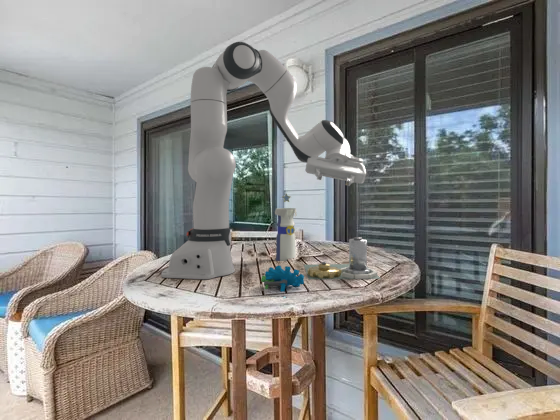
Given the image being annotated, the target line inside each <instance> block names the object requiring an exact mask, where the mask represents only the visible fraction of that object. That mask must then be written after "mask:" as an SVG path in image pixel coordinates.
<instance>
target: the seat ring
mask: <svg viewBox="0 0 560 420" xmlns="http://www.w3.org/2000/svg"><path fill="white" fill-rule="evenodd" d="M346 268H347V267H345V268H341V273H342V276H343V277H347V278H352V279H351V280H370V279H369V278H373V277H376V276H377V275H378V271H377V270H375V269H374V268H370V267H368V269H371V273H369V274H350V273H345V269H346ZM353 278H355V279H353Z"/></svg>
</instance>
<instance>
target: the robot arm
mask: <svg viewBox="0 0 560 420" xmlns="http://www.w3.org/2000/svg"><path fill="white" fill-rule="evenodd" d="M246 82H250V83H252V84H254V85H256V86H257V87H258V88H259V90H260V91H261V92H262V93H263V94H264V95H265V97H266V98H267V100H268V103H269V109H268V112H269V114H270V116H271V118H272V120H273V121H274V123H275V125H276V126H277V128H278V129H279V131H280V132H281V135H283V137H284V139H285V140H286V142H287V143H288V144H289V146H290V147H291V150H292V152H293V153H294V155H295V157H296V158H297V159H298V160H299V162H302V163H306V165H305V171H304V172H306V173H307V174H311V175H314V176H315V177H316V180H319V181H322V178H323V177H325V178H329V179H336V180H341V181H345V186H348V187H350V186H351V185H352V184H353V183H356V184H364V182H365V180H366V176H367V171H366V167H365V165H364V164H363V163H364V160H363V158H361V157H357V156H355V155H353V154H351V146H350V143H349V141H348V140H347V138H346V137H345V135H344V132H343V131H342V129H341V128H340V127H339V125H338V124H336V123H335V122H334V121H331V120H327V119H323V120H321V121H319V123H316V124H315V126H313V127H312V128H311V129H310V130H308V131H307V132H306V133H305V134H303V135H302V136H301V135H299V134H298V132H297V130H296V129H295V127H294V126H293V125H292V123H291V121H290V120H289V117H288V115H289V110H290V108H291V107H292V104H293V103H294V101H295V99H296V95H297V92H298V84H297V81H296V79H295V78H294V76H293V75H292V73H290V71H289V70H288V69H287V67H285V65H284V64H283V63H282V61H280V60H279V59H277V57H275V56H274V55H273V54H272V53H270V52H269V51H268V50H265V49H259V50H258V49H256V48H254V47H253V46H252V45H250V44H248V43H246V42H244V41H234V42H233V43H231V44H229V45H228V46H227V47H226V48H225V49H224V51H223V52H222V53H221V54H219V56H218V57H217V59H216V61H215V62H214V64H213V65H212V66H211V67H210V66H202V67H199V68H198V69H196V70H195V71H194V73H193V74H192V81H191V87H190V137H189V138H190V139H189V145H188V146H189V148H188V149H189V150H188V165H187V172H188V174H189V177H190V178H191V179H192V180H193V181H194V182H195V192H194V199H193V202H192V212H193V213H192V217H193V219H192V220H193V228H191V229H189V230H188V231H187V232H186V238H187V241H186V242H185V243H183V244H182V245H181V246H180V247H179V248H177V249H175V251H173V252H172V254H171V255H170V258H169V261H168V267H167V268H165V269H163V270H162V271H161V275H160V276H161V277H162V278H164V279H165V278H167V279H187V280H188V279H189V280H210V279H211V280H212V279H214V278H216V277H217V278H218V277H223V276H228V275H231V274H233V273H234V272H236V269H235V266H234V262H233V257H232V252H231V244H232V231H231V227H230V208H229V207H230V206H229V205H230V196H231V189H232V184H233V183H232V182H233V176H234V173H235V171H236V165H237V164H236V163H237V162H236V158H235V156H234V155H233V153H232V152H231V151H230V150H229V149H227V148H224V145H225V140H226V135H227V132H228V114H227V113H228V112H227V111H228V110H227V109H228V106H227V105H228V104H227V92H228V93H229V92H233V91H235V90H237V89H239V87H241V86H243V85H244V84H245V83H246ZM325 152H326V154H325V157H320V155H322V154H324V153H325Z"/></svg>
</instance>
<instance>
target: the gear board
mask: <svg viewBox="0 0 560 420" xmlns="http://www.w3.org/2000/svg"><path fill="white" fill-rule="evenodd" d="M319 264H320V263H318V264H303V266H304V270H305V273H306V277H307V279H308V280H356V279H355V278H353V279H352V278H347V277H343V276H342V273H341V275H340V277H334V278H323V279H322V278H317V277H310V275H308V274H307V269H309V268H310V267H315V266H319ZM329 264H330V263H329ZM330 267H337V268H338V269H341V268H345V267H349V263H343V264H342V263H339V264H338V263H337V264H336V263H334V264H333V263H331V264H330ZM367 268H369V267H368V266H367ZM377 279H379V280H381V279H382V278H381V277H380V276H379V275H378V274H377V276H376V277H373V278H369V279H368V280H377Z"/></svg>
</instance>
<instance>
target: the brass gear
mask: <svg viewBox="0 0 560 420" xmlns="http://www.w3.org/2000/svg"><path fill="white" fill-rule="evenodd" d="M318 264H319V266H315V267H310V268H309V269H307V273H306V275H307V274H308V275H310V277H317V278H322V279H321V280H324V279H323V278H334V277H340V275H341V269H338V268H337V267H330V263H327V261H322V262H320V263H318Z"/></svg>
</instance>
